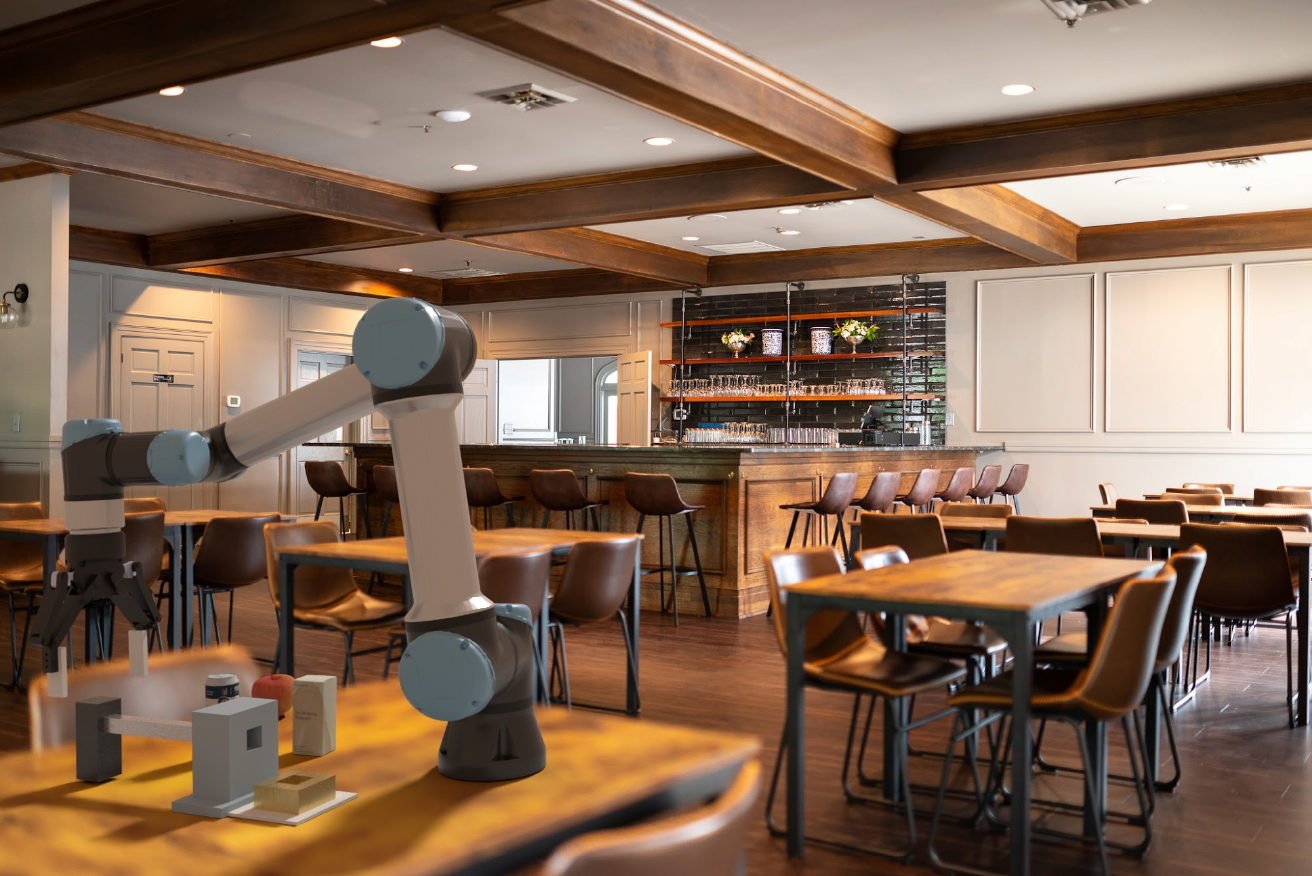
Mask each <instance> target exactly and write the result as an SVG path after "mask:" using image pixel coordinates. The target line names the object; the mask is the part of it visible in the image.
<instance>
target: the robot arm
mask: <svg viewBox="0 0 1312 876" xmlns="http://www.w3.org/2000/svg"><path fill="white" fill-rule="evenodd" d="M351 340H352V341H351V353H352V358H353V361H354V363H352V364H349V365H347V366H346V367H343V368H341V369H339V370H336V371H334V372H332V373H330V374H327V375H326V376H322V377H320V378H318V379H316V380H314V381H312V382H310V383H307V384H305V385H303V386H301V387H298V388H296V389H294V390H292V391H290V392H288V393H285V394H283V395H280V396H278V397H277V398H273V399H272V400H269V401H268V402H265V403H263V404H261V405H259V406H256V407H254V408H252V409H249V410H248V411H245V412H243V413H241V414H238V415H236V416H234V417H232V418H230V419H228V420H227V421H223V422H221V423H219V424H217V425H215V426H213V427H209V428H208V429H204V430H193V429H192V430H191V429H190V430H189V429H174V428H171V429H166V430H165V429H164V430H163V429H162V430H148V431H146V430H145V431H134V432H132V431H131V432H130V431H129V432H128V431H124V430H123V427H122V423H121V420H119V419H117V418H79V419H78V418H77V419H76V418H75V419H69V420H67V421H65V422H64V424H63V426H62V428H61V429H62V430H61V432H62V433H61V434H62V435H61V449H60V456H61V467H62V468H61V469H62V479H63V481H62V482H63V493H64V494H63V521H64V525H63V526H64V529H65V530H66V531H69V533H68V534H65V537H64V558H65V560H66V561H67V563H68V565H69V566H68V571H57V570H54V571H49V572H48V573H47V577H46V589H45V592H44V594H43V596H42V599H41V602H40V605H39V607H38V609H37V613H36V615H35V618H34V622H33V623H32V626H31V629H30V630H29V634H28V637H27V638H26V639H27V641H26V642H27V644H28V645H29V646H35V647H36V648H41V651H42V655H41V656H42V671H43V673H44V674H46V682H47V683H46V684H47V685H46V687H47V697H49V698H50V697H51V698H67V697H68V695H69V694H68V674H67V673H68V669H67V668H68V667H67V665H68V664H67V647H66V646H61V644H62V643H63V642H64V640H65V638H66V637H67V635H68V633H69V631H70V630H71V628H72V626H73V624H74V623H75V622H76V620H77V618H78V616H79V615H80V613H81V611H82V609H83V608H84V606H86V605H88V604H89V603H90V602H91V601H98V600H100V599H110V600H111V602H112V603H113V604H114V605H115V607H116V608H117V609H118V610H119V611H120V613H121V614H122V615H123V617H125V619H126V620H127V621H128V623H129V624H130V625H131V626H132V628H134V629H129V630H128V632H127V634H128V655H129V656H128V659H129V660H128V662H129V677H136V678H138V677H140V678H145V677H149V659H148V658H149V655H148V654H149V653H148V652H150V649H151V634H150V633H151V631H150V630H155V628H156V627H157V623H161V621H162V615H161V612H160V610H159V608H158V606H157V603H156V602H155V599H154V597H153V595H152V592H151V591H150V588H149V586H148V584H147V582H146V579H145V577H144V572H143V565H142V564H143V563H142V562H141V561H137V560H136V561H132V560H129V561H127V560H125V561H123V558H124V557H126V554H127V553H126V552H127V550H126V545H127V544H126V533H124V531H123V530H122V529H121V528H124V527H125V526H126V518H125V496H124V495H125V488H127V487H128V488H129V487H167V486H168V487H173V488H174V487H175V488H176V487H183V486H187V485H194V484H205V483H206V484H209V483H213V484H218V483H219V484H221V483H226V482H229V481H233V480H236V479H239V478H240V477H241V476H242V475H244V474H245V472H247V470H248V469H249V468H251V467H253V466H256V465H257V464H259V463H262V462H265V461H266V460H267V461H268V460H269V459H271V458H273V457H276V456H278V455H280V454H282V453H285V452H287V451H290V450H292V449H294V448H296V447H299V446H301V445H303V444H305V443H307V442H310V441H312V440H315V439H317V438H320V437H321V436H324V435H326V434H328V433H331V432H332V431H335V430H338V429H340V428H343V427H344V426H346V425H347V426H348V425H349V424H351V423H353V422H356V421H358V420H360V419H361V420H362V419H363V418H365V417H368V416H369V415H372V414H374V413H377V412H378V413H379V414H380V415H382V416H383V417H385V419H386V420H387V424H388V430H389V436H390V443H391V444H390V445H391V449H392V457H393V465H394V471H395V478H396V485H397V492H398V499H399V500H398V501H399V505H400V506H399V507H400V513H401V515H400V516H401V521H402V527H403V534H404V541H405V549H406V556H407V563H408V569H409V576H410V584H411V590H412V597H413V604H412V607H410V609H409V611H408V613H406V615H405V616H404V626H405V634H406V635H405V636H406V639H407V640H406V642H407V646H406V648H405V650H404V652H403V653H402V656H401V659H400V660H399V661H400V662H399V665H398V681H399V686H400V689H401V691H402V693H403V696H404V697H405V699H406V701H408V703H409V704H410V705H411V707H413V709H414V710H416V711H418V712H419V713H420V714H421V715H423V716H424V717H427V718H429V719H432V720H435V721H439V722H446V724H445V725H446V726H445V729H444V733H443V736H442V738H441V743H440V745H439V750H438V752H437V770H438V772H439V774H441V775H444V776H445V777H448V778H452V779H456V780H463V781H471V782H472V781H473V782H474V781H476V782H486V781H487V782H489V781H491V782H492V781H503V780H511V779H518V778H521V777H525V776H529V775H532V774H534V773H537V772H539V771H541V770H543V769H544V768H545V767H546V766H547V747H546V744H545V741H544V737H543V735H542V732H541V728H540V726H539V723H538V720H537V717H536V714H535V711H534V673H533V672H534V668H533V667H534V663H533V662H534V661H533V659H534V658H533V657H534V656H533V653H534V651H533V650H534V648H533V647H534V645H533V641H534V640H533V632H534V623H533V617H532V610H531V609H530V607H529V606H528V605H526V604H523V603H494V602H493V600H491V599H489V598H488V597H487V596H485V595H484V594H483V592H482V591H481V587H480V578H479V571H478V566H477V559H476V550H475V543H474V538H473V530H472V524H471V518H470V516H471V515H470V510H469V502H468V497H467V489H466V482H465V475H464V469H463V461H462V457H461V456H462V455H461V454H462V453H461V449H460V439H459V433H458V427H457V421H456V414H455V412H456V409H457V407H458V406H459V404H460V403H461V402H462V401H463V399H464V398H465V394H464V393H465V392H464V386H463V382H464V381H465V380H466V379H468V377H469V375H470V374H471V373H472V371H473V369H474V367H475V364H476V362H477V358H478V342H477V341H478V340H477V337H476V334H475V333H474V329H473V328H472V327H471V325H470V324H469V322H468V321H467V320H466V319H465V318H464V317H463V316H462V315H460V314H459V313H458V312H456V311H453V310H452V309H449V308H448V307H447V308H446V307H443V306H437V305H435V304H432V303H429V302H428V301H425V300H423V299H420V298H416V297H402V296H399V297H398V296H397V297H390V298H386V299H384V300H380V301H379V302H377V303H375V304H374V305H372V306H370V308H368V309H367V311H365V313H364V314H363V315H362V317H361V318H360V319H359V320H358V322H357V324H356V326H355V329H354V331H353V334H352V339H351ZM121 530H122V531H121ZM123 579H124V582H125V583H124V582H123ZM68 587H69V588H68Z"/></svg>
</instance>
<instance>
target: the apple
mask: <svg viewBox="0 0 1312 876" xmlns="http://www.w3.org/2000/svg"><path fill="white" fill-rule="evenodd" d="M269 673H270V674H269V675H265V676H263V677H260V678H258V679H257V680H255V681H254V682H253V684H252V686H251V694H250V695H251V698H262V699H273V700H278V718H280V717H281V716H283V715H284V714H286V713H287V712H289V711H290V710H291V709H293V680H295V679H296V678H294V677H293V676H291V675H288V674H282V673H281V674H272V673H273V670H270V671H269Z"/></svg>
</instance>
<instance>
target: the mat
mask: <svg viewBox="0 0 1312 876" xmlns="http://www.w3.org/2000/svg"><path fill="white" fill-rule="evenodd" d="M358 797H359V793H357V792H348V791H341V790H336V799H334V800H331V801H329V802H327V803H325V804H323V805H320V806H318V807H316V808H314V809H311V810H309V811H307V812H305V813H302V814H300V815H294V814H287V813H280V812H273V811H266V810H259V809H254V802H252V803H250V804H247V805H245V806H243V807H240V808H238V809H235V810H233V811H231V812H228V816H227V817H233V818H240V819H246V820H247V819H248V820H255V821H262V822H270V823H276V824H283V825H289V826H299V825H301V824H303V823H305V822H307V821H309V820H311V819H314V818H316V817H318V816H320V815H322V814H324V813H327V812H328V811H330V810H331V811H332V810H333V809H335V808H337V807H339V806H341V805H343V804H345V803H347V802H349V801H352V800H353V799H356V798H358Z"/></svg>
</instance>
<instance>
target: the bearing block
mask: <svg viewBox="0 0 1312 876" xmlns="http://www.w3.org/2000/svg"><path fill="white" fill-rule="evenodd" d="M191 722H192V742H191V751H192V752H191V756H192V757H191V759H192V761H191V762H192V763H191V764H192V765H191V767H192V773H191V774H192V793H190V794H188V795H186V796H182V797H181V798H178V799H175V800H173V801H171V812H173V813H180V814H181V813H182V814H189V815H194V816H201V817H210V818H216V819H217V818H218V819H225V818H226V817H229V816H228V812H231V811H233V810H235V809H238V808H240V807H243V806H245V805H247V804H250V803H252V802H254V784H256V783H259V782H262V781H264V780H267V779H269V778H272V777H274V776H277V775H279V773H280V771H279V768H280V767H279V757H280V756H279V717H278V700H273V699H262V698H252V696H251V697H249V696H248V697H247V696H239V698H236V699H232V700H229V701H226V702H222V703H219V704H216V705H212V706H209V707H206V708H205V707H203V708H199V709H196V710H192V711H191Z"/></svg>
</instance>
